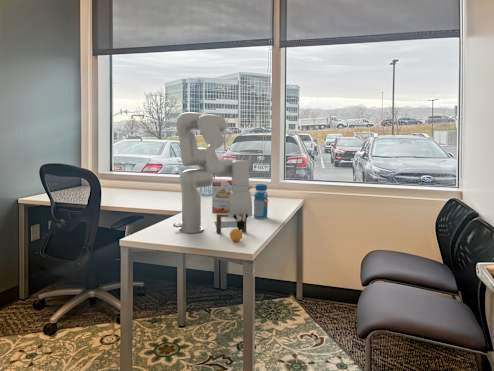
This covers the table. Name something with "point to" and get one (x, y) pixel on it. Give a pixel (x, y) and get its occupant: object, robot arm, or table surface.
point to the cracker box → (221, 195)
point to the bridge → (219, 215)
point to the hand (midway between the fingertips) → (240, 229)
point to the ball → (236, 234)
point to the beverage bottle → (260, 202)
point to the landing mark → (227, 224)
